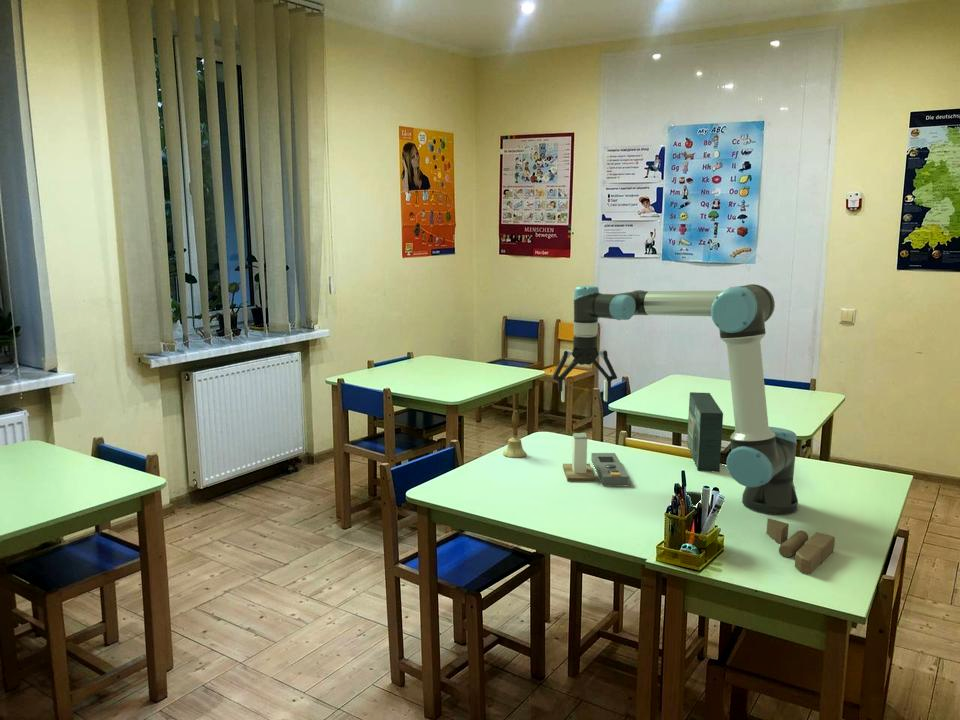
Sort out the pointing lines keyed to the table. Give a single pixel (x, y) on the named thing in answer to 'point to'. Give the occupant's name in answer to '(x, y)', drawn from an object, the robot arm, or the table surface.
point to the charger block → (579, 453)
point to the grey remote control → (609, 469)
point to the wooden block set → (808, 554)
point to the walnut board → (578, 474)
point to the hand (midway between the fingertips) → (584, 400)
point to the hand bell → (514, 440)
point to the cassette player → (705, 431)
